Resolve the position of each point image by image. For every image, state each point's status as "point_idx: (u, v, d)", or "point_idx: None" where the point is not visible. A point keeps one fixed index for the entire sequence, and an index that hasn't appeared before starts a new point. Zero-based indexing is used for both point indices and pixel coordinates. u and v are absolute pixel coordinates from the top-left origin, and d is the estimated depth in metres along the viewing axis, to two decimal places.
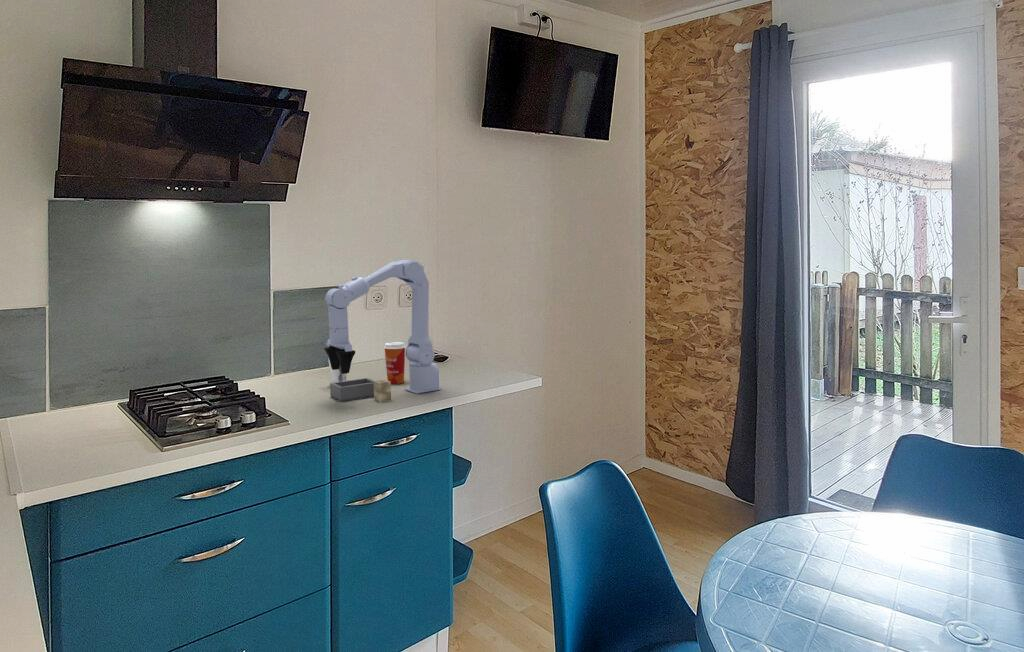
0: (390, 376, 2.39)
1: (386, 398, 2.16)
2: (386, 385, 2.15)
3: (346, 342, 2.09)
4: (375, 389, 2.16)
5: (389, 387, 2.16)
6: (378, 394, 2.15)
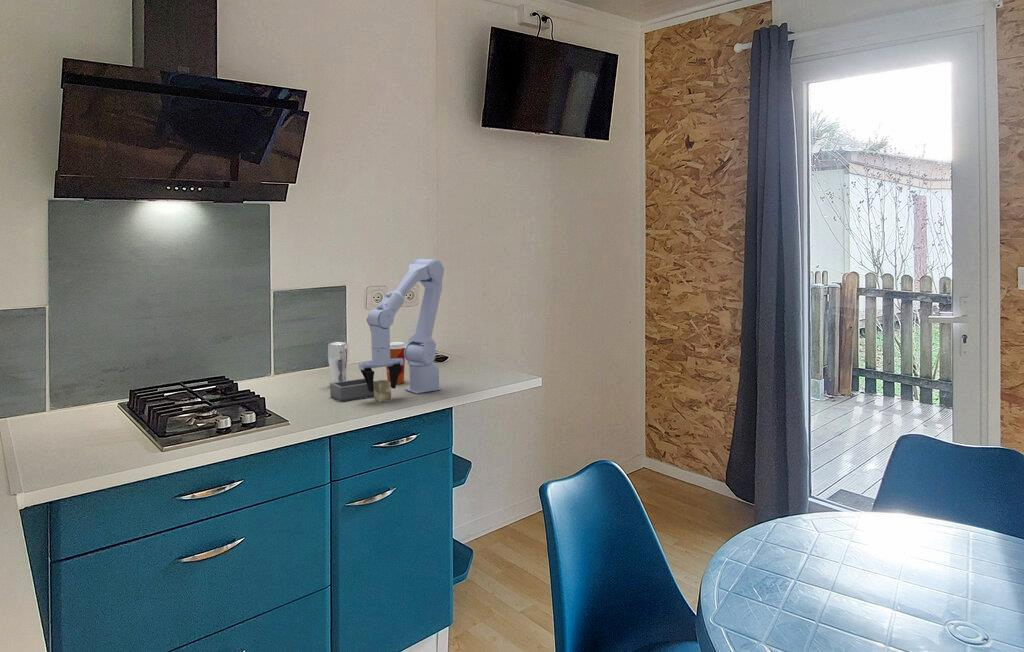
0: None
1: (386, 398, 2.16)
2: (386, 384, 2.15)
3: (375, 362, 2.13)
4: (375, 389, 2.16)
5: (389, 387, 2.16)
6: (378, 394, 2.15)
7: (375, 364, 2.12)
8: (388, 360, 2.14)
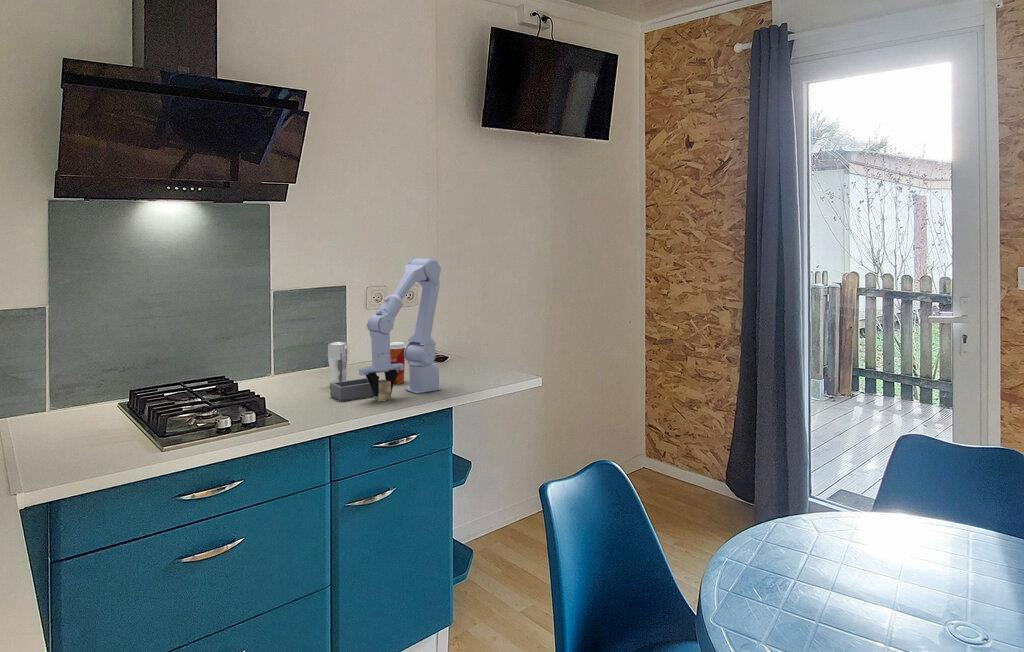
0: None
1: (386, 398, 2.16)
2: (386, 384, 2.15)
3: (375, 367, 2.13)
4: None
5: (389, 387, 2.16)
6: (378, 394, 2.15)
7: (375, 369, 2.13)
8: (388, 365, 2.15)
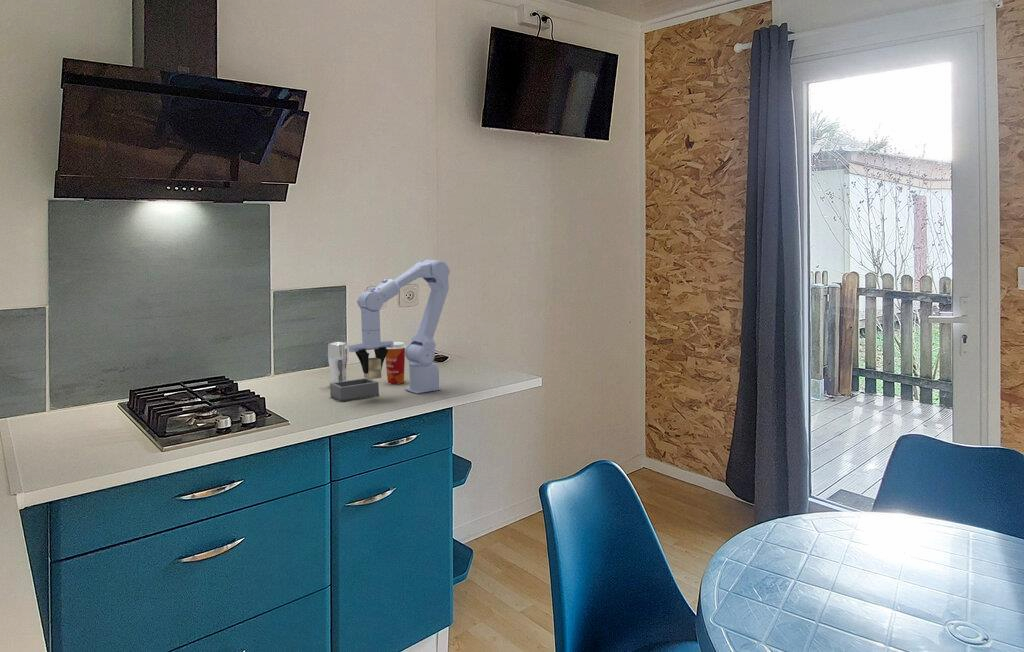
0: (390, 376, 2.39)
1: (376, 375, 2.16)
2: (376, 362, 2.16)
3: (365, 344, 2.14)
4: None
5: (379, 364, 2.17)
6: (368, 371, 2.15)
7: (365, 346, 2.13)
8: (378, 342, 2.15)
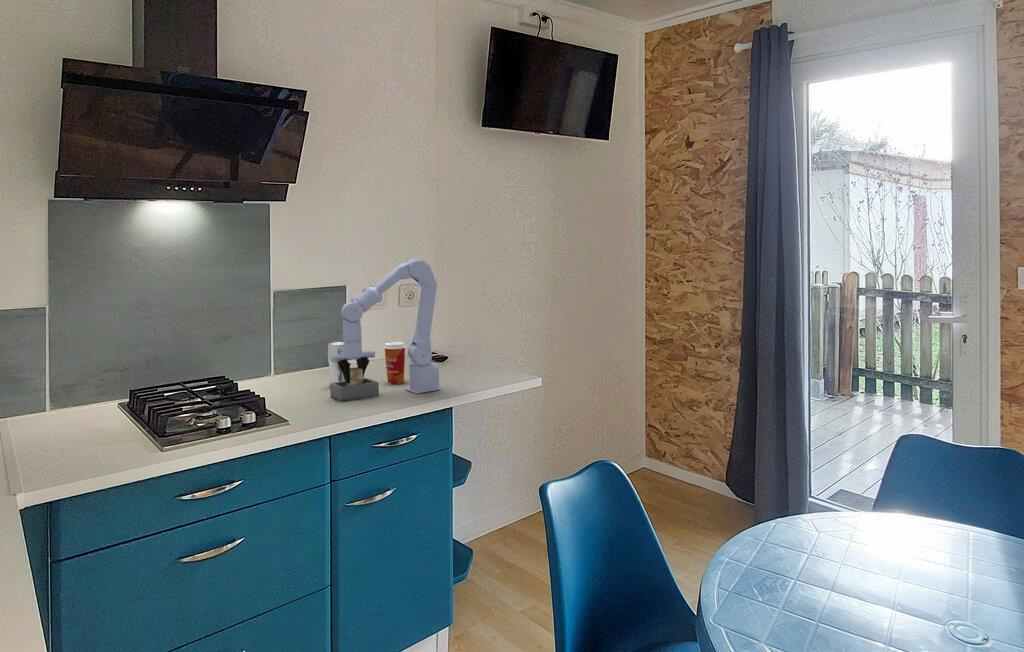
0: (390, 376, 2.39)
1: None
2: (358, 372, 2.20)
3: (346, 354, 2.18)
4: None
5: (361, 374, 2.20)
6: (350, 381, 2.19)
7: (346, 357, 2.17)
8: (359, 353, 2.19)
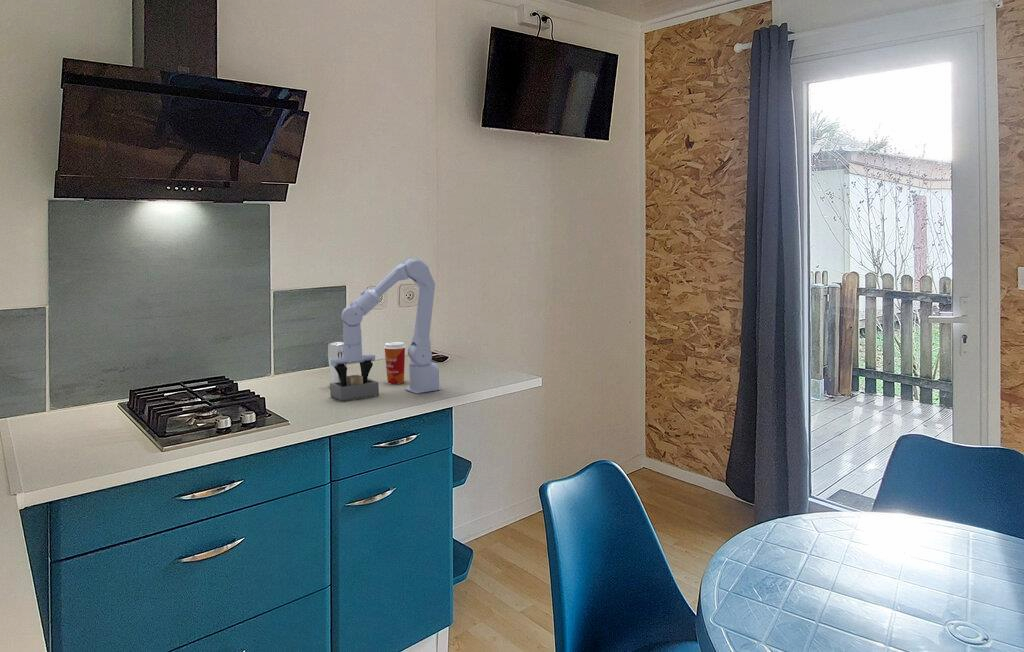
0: (390, 376, 2.39)
1: None
2: (358, 379, 2.20)
3: (347, 358, 2.18)
4: (347, 384, 2.21)
5: (361, 382, 2.21)
6: None
7: (347, 360, 2.17)
8: (360, 356, 2.19)
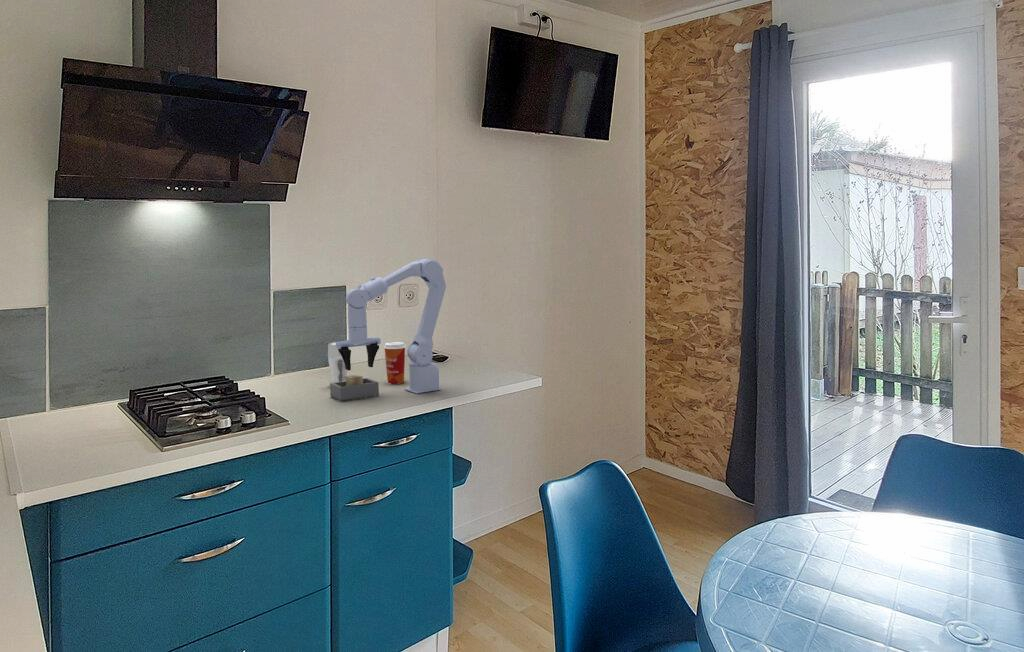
0: (390, 376, 2.39)
1: None
2: (358, 379, 2.20)
3: (352, 341, 2.17)
4: (347, 384, 2.21)
5: (361, 382, 2.21)
6: None
7: (352, 343, 2.16)
8: (365, 339, 2.18)
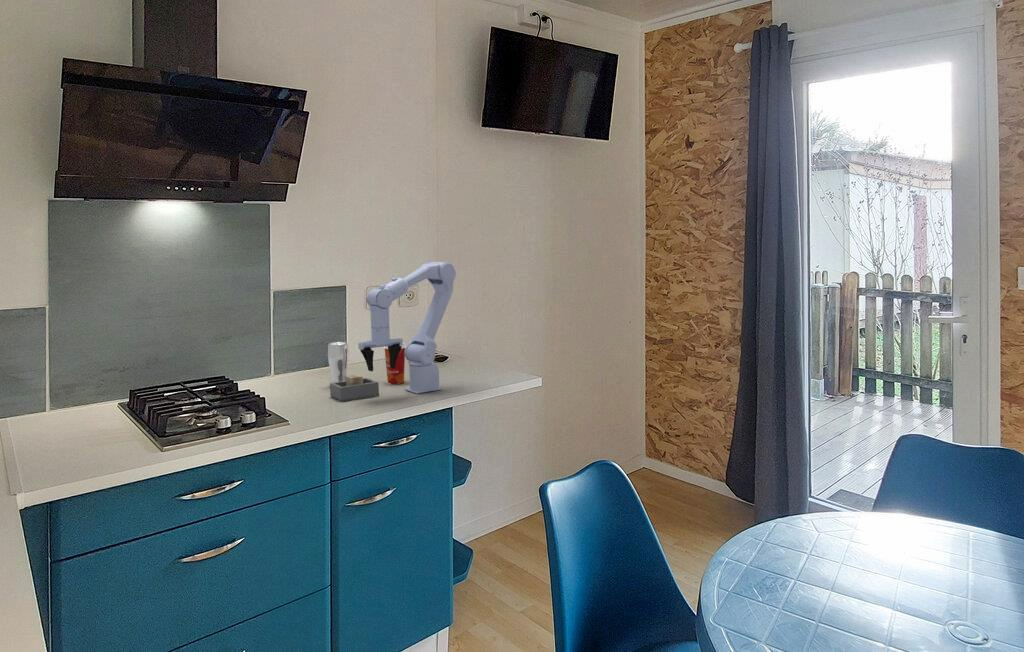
0: (390, 376, 2.39)
1: None
2: (358, 379, 2.20)
3: (374, 341, 2.15)
4: (347, 384, 2.21)
5: (361, 382, 2.21)
6: None
7: (375, 344, 2.14)
8: (387, 340, 2.16)
